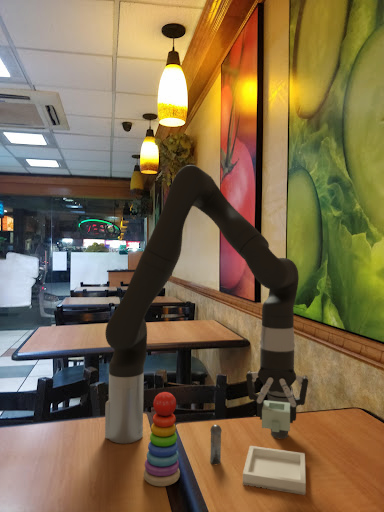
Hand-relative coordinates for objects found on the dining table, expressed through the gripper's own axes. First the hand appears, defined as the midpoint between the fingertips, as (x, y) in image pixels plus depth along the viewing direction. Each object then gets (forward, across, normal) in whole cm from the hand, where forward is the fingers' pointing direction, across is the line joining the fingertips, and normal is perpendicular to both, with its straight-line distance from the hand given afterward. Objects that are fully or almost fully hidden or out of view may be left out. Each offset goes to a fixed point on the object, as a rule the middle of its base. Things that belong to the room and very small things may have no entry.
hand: (276, 419), depth 90 cm
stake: (+12, +14, -1) cm, 19 cm away
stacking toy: (+12, +24, +9) cm, 29 cm away
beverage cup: (+12, 0, -20) cm, 23 cm away
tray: (+12, 0, 0) cm, 12 cm away
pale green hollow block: (+1, 0, 0) cm, 1 cm away
